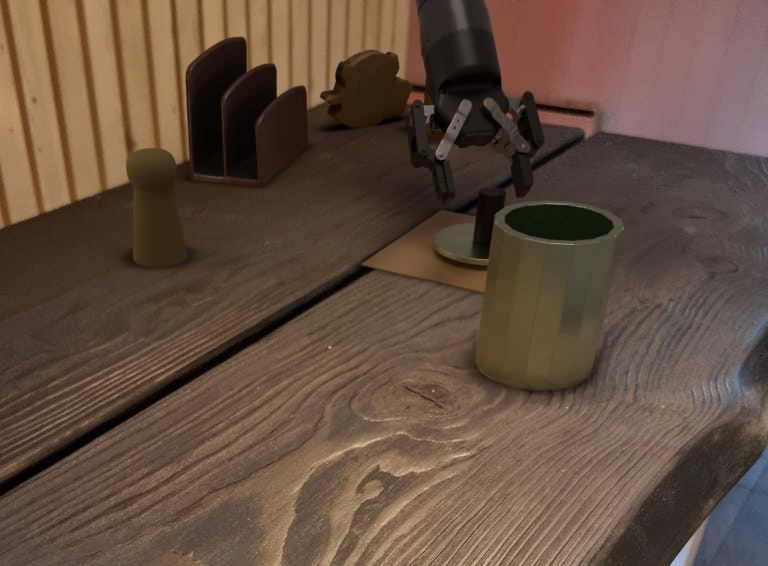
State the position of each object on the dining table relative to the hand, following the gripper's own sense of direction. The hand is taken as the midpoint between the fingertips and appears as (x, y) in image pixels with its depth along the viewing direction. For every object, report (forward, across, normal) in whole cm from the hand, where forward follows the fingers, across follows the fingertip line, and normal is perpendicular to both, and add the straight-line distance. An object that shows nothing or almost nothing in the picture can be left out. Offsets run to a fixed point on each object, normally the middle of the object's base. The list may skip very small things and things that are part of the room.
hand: (487, 197), depth 98 cm
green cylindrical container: (+23, -6, -14) cm, 28 cm away
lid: (+4, 0, +3) cm, 5 cm away
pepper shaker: (-1, -34, +10) cm, 36 cm away
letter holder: (-23, -17, +32) cm, 43 cm away
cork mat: (+5, 0, +3) cm, 6 cm away
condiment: (-28, +13, +36) cm, 47 cm away
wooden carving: (-33, +4, +42) cm, 54 cm away
